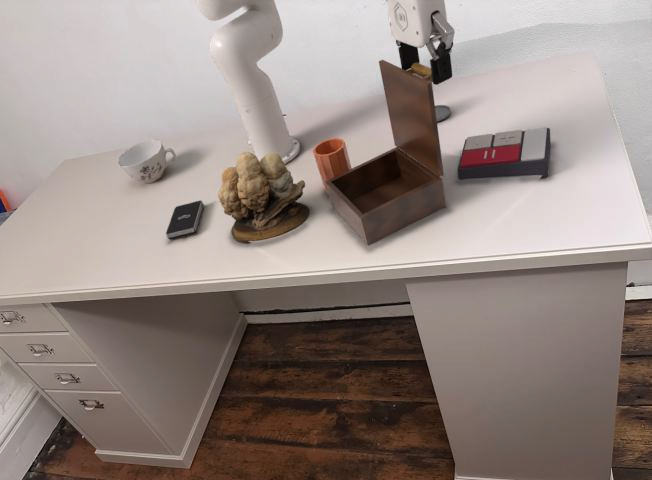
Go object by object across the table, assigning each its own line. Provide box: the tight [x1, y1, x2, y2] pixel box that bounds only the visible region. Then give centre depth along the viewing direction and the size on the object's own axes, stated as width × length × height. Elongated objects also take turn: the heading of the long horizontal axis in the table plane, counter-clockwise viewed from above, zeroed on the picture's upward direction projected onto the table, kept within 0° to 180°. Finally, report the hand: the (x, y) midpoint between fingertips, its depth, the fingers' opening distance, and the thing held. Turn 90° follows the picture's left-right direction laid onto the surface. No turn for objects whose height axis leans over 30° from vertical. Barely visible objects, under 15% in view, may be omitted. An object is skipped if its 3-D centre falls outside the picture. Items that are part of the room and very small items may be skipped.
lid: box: [378, 59, 445, 178], centre depth 90 cm, size 17×16×5 cm
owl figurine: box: [217, 151, 310, 245], centre depth 103 cm, size 18×12×17 cm, turn 89°
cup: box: [312, 137, 353, 194], centre depth 107 cm, size 6×6×10 cm
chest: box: [325, 146, 447, 246], centre depth 97 cm, size 16×16×7 cm
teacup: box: [117, 139, 176, 184], centre depth 140 cm, size 15×12×8 cm
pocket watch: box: [435, 104, 452, 122], centre depth 116 cm, size 8×8×10 cm
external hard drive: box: [165, 199, 205, 241], centre depth 118 cm, size 7×11×2 cm, turn 176°
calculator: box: [457, 127, 551, 180], centre depth 97 cm, size 11×4×15 cm
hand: (426, 73), depth 86 cm, fingers open, 9 cm apart
